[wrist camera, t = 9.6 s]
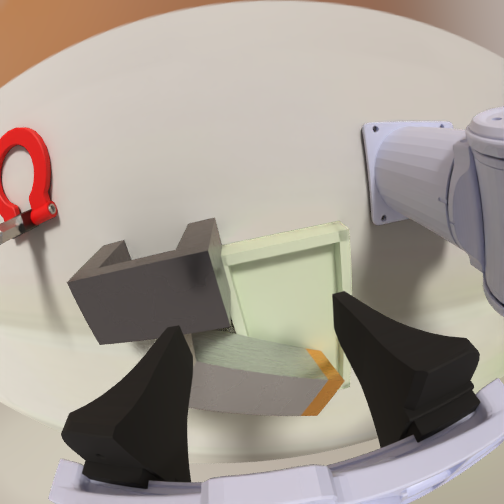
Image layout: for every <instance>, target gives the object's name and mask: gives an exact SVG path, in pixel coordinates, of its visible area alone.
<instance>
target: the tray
mask: <svg viewBox="0 0 504 504" xmlns="http://www.w3.org/2000/svg"><path fill="white" fill-rule="evenodd" d="M221 258H222V262H223V265H224V269H225V273H226V276H227V280H228V284H229V287H230V291H231V318H232V321H233V325H234V328H235V331H236V334H239V335H243V336H248V337H252V338H257V339H261V340H266V341H271V342H276V343H281V344H286V345H291V346H296V347H302V348H307V349H313V350H319V351H322V353H323V354H324V355H325V356H326V358H327V359H328V360H329V362H330V363H331V364H332V365H333V367H334V368H335V369H336V370H337V372H338V373H339V374H340V375H341V377H342V378H343V379H344V380H345V381H344V383H343V384H342V385H341V387H340V388H339V389H338V390H341V389H345V388H348V387H350V374H351V365H350V363H349V361H348V359H347V357H346V355H345V353H344V351H343V349H342V348H341V346H340V343H339V341H338V338H337V335H336V333H335V330H334V321H333V301H332V294H334V293H338V292H342V291H345V292H347V293H349V294H350V295H352V273H351V251H350V236H349V229H348V228H347V227H346V226H345V225H344V224H342V223H341V222H340V221H336V222H331V223H327V224H322V225H317V226H312V227H307V228H302V229H297V230H293V231H288V232H283V233H278V234H273V235H269V236H264V237H259V238H255V239H250V240H245V241H241V242H236V243H231V244H227V245H222V251H221ZM338 390H337V391H338Z"/></svg>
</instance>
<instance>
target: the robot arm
mask: <svg viewBox="0 0 504 504" xmlns="http://www.w3.org/2000/svg"><path fill="white" fill-rule="evenodd" d="M440 125H441V128H440ZM374 126H375V127H376V132H374V131H373V127H374ZM362 133H363V139H364V146H365V154H366V162H367V170H368V180H369V191H370V204H371V219H372V222H373V223H374V224H375V225H382V224H387V223H391V222H396V221H401V220H406V219H411V220H413V221H415V222H417V223H419V224H420V225H422V226H424V227H426V228H427V229H429V230H431V231H432V232H434V233H436V234H437V235H439V236H441V237H442V238H444V239H446V240H447V241H449V242H451V243H452V244H454V245H455V246H457V247H459V248H460V249H462V250H464V251H465V252H466V253H467V254H468V256H469V258H470V264H471V265H472V266H474V267H475V268H477V269H478V270H479V271H481V272H482V273H483V288H484V293H485V295H486V298H487V300H488V302H489V303H490V305H491V306H492V307H493V308H494V309H495V310H496V311H497V312H498V313H499V314H500V315H502V316H504V106H503V107H497V108H492V109H489V110H485V111H483V112H480V113H478V114H477V115H475V116H474V117H473V119H472V121H471V123H470V124H469V125H468V126H467V128H466V130H465V129H453V125H452V123H451V122H444V121H399V122H376V123H365V124H364V125H363V127H362ZM383 215H384V216H385V217H384V219H383V220H381V218H382V216H383ZM332 301H333V321H334V330H335V333H336V335H337V338H338V341H339V343H340V346H341V348H342V349H343V351H344V353H345V355H346V357H347V359H348V361H349V363H350V365H351V366H352V368H353V370H354V372H355V374H356V376H357V378H358V380H359V382H360V384H361V386H362V389H363V392H364V394H365V397H366V400H367V403H368V406H369V409H370V412H371V415H372V418H373V421H374V425H375V428H376V431H377V435H378V439H379V443H380V447H381V448H380V449H377V450H375V451H372V452H369V453H367V454H363V455H360V456H357V457H355V458H351V459H348V460H345V461H341V462H338V463H334V464H330V465H327V466H324V465H314V464H312V465H304V466H297V467H292V468H286V469H281V470H275V471H268V472H261V473H253V474H243V475H233V476H221V477H214V478H210V479H208V480H206V481H204V482H198V483H197V482H195V483H193V482H191V478H190V470H189V459H188V443H187V416H188V407H189V400H190V393H191V386H192V378H193V355H192V353H191V351H190V348H189V346H188V344H187V342H186V339H185V337H184V335H183V333H182V330H181V328H180V326H179V325H178V326H172V327H167V328H166V330H165V331H164V332H163V333H162V334H161V336H160V337H159V338H158V340H157V341H156V342H155V343H154V345H153V346H152V347H151V348H150V350H149V351H148V352H147V353H146V355H145V356H144V357H143V358H142V359H141V360H140V361H139V363H138V364H137V365H136V366H135V367H134V368H133V369H132V370H131V371H130V372H129V373H128V374H127V375H126V376H125V377H124V378H123V379H122V380H121V381H120V382H118V383H117V384H116V385H115V386H113V387H112V388H111V389H110V390H108V391H107V392H106V393H104V394H103V395H102V396H100V397H99V398H97V399H95V400H94V401H92V402H91V403H89V404H87V405H85V406H83V407H81V408H79V409H77V410H75V411H73V412H71V413H69V416H68V418H67V420H66V423H65V425H64V428H63V430H62V433H61V436H62V439H63V440H64V442H65V443H66V444H67V445H68V446H69V447H70V448H71V449H72V450H74V451H75V452H76V453H77V454H78V455H80V456H81V457H82V458H83V459H84V460H86V461H85V464H84V465H82V464H80V463H77V462H73V461H69V460H65V459H60V462H59V464H58V467H57V471H56V474H55V477H54V481H53V484H52V487H51V491H50V494H49V500H50V501H51V502H53V503H55V504H408V503H410V502H412V501H414V500H416V499H418V498H420V497H422V496H424V495H426V494H428V493H430V492H431V491H433V490H435V489H436V488H438V487H440V486H441V485H443V484H445V483H447V482H448V481H450V480H451V479H453V478H454V477H456V476H458V475H459V474H461V473H462V472H464V471H465V470H466V469H468V468H469V467H471V466H472V465H474V464H475V463H476V462H478V461H479V460H481V459H482V458H483V457H485V456H486V455H487V454H489V453H490V452H491V451H493V450H494V449H495V448H496V447H498V446H499V445H500V444H501V443H502V442H503V441H504V385H503V383H502V382H501V381H500V379H499V378H496V379H495V380H493V381H492V382H491V383H489V384H488V385H486V386H485V387H483V388H482V389H481V390H479V391H478V393H477V394H476V395H475V393H474V392H473V391H472V389H473V388H474V385H473V383H472V382H471V381H470V380H471V378H472V376H473V374H474V372H475V370H476V367H477V365H478V362H479V356H480V354H479V352H478V350H477V349H476V348H475V347H474V346H473V345H472V344H471V342H470V341H469V340H468V339H467V338H459V337H449V336H443V335H438V334H433V333H429V332H425V331H422V330H418V329H415V328H412V327H409V326H406V325H404V324H402V323H399V322H397V321H395V320H392V319H390V318H388V317H386V316H384V315H383V314H381V313H379V312H377V311H375V310H374V309H372V308H370V307H369V306H367V305H365V304H364V303H362V302H361V301H359V300H358V299H356V298H355V297H353V296H352V295H350V294H349V293H347V292H345V291H342V292H338V293H334V294H332Z"/></svg>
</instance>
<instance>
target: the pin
mask: <svg viewBox="0 0 504 504" xmlns="http://www.w3.org/2000/svg"><path fill="white" fill-rule="evenodd" d="M184 337H185V339H186V342H187V344H188V346H189V348H190V351H191V353H192V355H193V378H192V386H191V393H190V400H189V407H188V408H195V409H202V410H210V411H218V412H227V413H238V414H252V415H273V416H317V415H318V414H319V413H320V412H321V410H322V409H323V408H324V407H325V406H326V404H327V403H328V402H329V401H330V399H331V398H332V397H333V396H334V394H335V393H336V392H337V390H338V389H339V388H340V387H341V385H342V384H343V383H344V381H345V380H344V379H343V378H342V377H341V375H340V374H339V373H338V372H337V370H336V369H335V368H334V367H333V365H332V364H331V363H330V362H329V360H328V359H327V358H326V356H325V355H324V354H323V353H322V351H319V350H313V349H307V348H302V347H296V346H291V345H286V344H281V343H276V342H271V341H266V340H261V339H257V338H252V337H248V336H243V335H239V334H235V333H230V332H226V331H222V330H218V329H215V330H209V331H203V332H197V333H191V334H184Z"/></svg>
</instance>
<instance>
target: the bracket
mask: <svg viewBox="0 0 504 504" xmlns="http://www.w3.org/2000/svg"><path fill="white" fill-rule="evenodd" d="M221 251H222V244H221V240H220V236H219V232H218V228H217V224H216V220H215V218H211V219H207V220H203V221H198V222H194V223H190V224H188V226H187V228H186V230H185V232H184V234H183V236H182V238H181V240H180V242H179V244H178V246H177V248H176V250H173V251H169V252H164V253H160V254H156V255H151V256H147V257H143V258H139V259H134V260H131V258H130V255H129V253H128V250H127V247H126V244H125V242H124V240H123V241H119V242H115V243H112V244H108V245H104V246H103V247H102V248H101V249H100V250H99V251H97V252H96V253H95V254H94V255H93V256H92V257H91V258H90V259H89V260H88V261H87V262H86V263H85V264H84V265H83V266H82V267H81V268H80V269H79V270H78V271H77V273H76V274H75V275H74V276H73V277H72V278H71V279H70V280H69V281H68V282H67V283H68V286H69V288H70V290H71V292H72V294H73V296H74V298H75V300H76V302H77V304H78V306H79V308H80V310H81V312H82V314H83V316H84V318H85V320H86V321H87V323H88V325H89V327H90V329H91V330H92V332H93V334H94V336H95V337H96V339H97V341H98V342H99V344H100V345H104V344H114V343H123V342H132V341H141V340H149V339H156V338H159V337H160V336H161V334H162V333H163V332H164V331H165V330H166V328H167V327H172V326H178V325H179V326H180V328H181V330H182V333H183V335H184V334H191V333H197V332H203V331H209V330H215V329H221V328H226V327H231V291H230V287H229V284H228V280H227V276H226V273H225V269H224V265H223V262H222V258H221Z"/></svg>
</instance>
